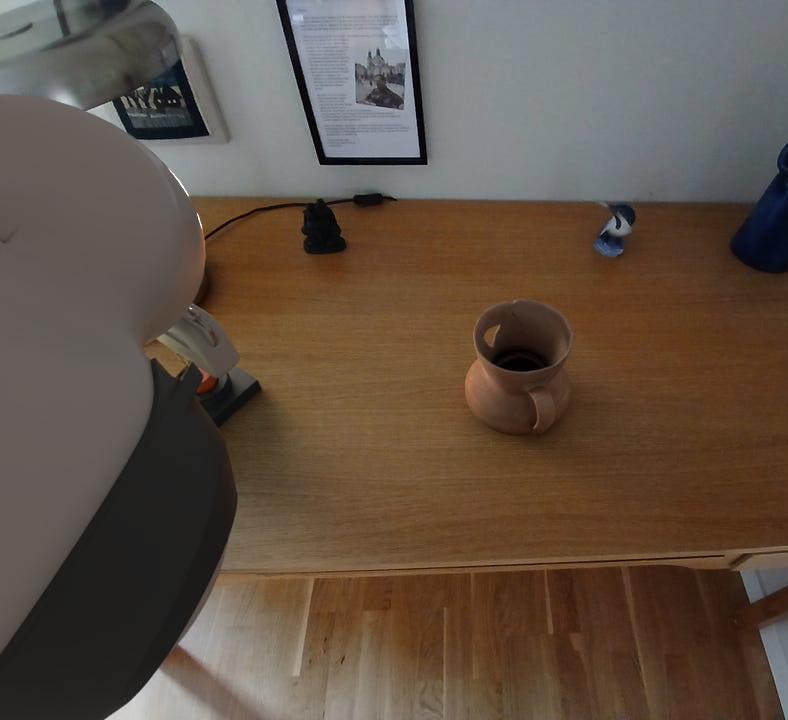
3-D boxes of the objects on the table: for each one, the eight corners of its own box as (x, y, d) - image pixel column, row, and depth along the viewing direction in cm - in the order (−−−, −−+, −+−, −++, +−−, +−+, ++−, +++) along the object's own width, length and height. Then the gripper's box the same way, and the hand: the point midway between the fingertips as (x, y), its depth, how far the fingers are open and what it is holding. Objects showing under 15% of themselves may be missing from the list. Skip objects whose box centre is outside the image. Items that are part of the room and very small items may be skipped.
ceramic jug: (452, 365, 82) (449, 295, 71) (545, 347, 85) (556, 277, 74) (483, 471, 71) (485, 408, 60) (589, 447, 73) (610, 382, 63)
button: (201, 398, 74) (195, 388, 72) (183, 385, 75) (177, 376, 73) (222, 380, 75) (217, 370, 74) (205, 368, 77) (199, 359, 75)
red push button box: (205, 439, 74) (193, 422, 71) (161, 408, 77) (148, 390, 74) (262, 389, 79) (253, 371, 76) (219, 361, 82) (209, 343, 79)
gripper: (229, 302, 59) (267, 381, 70) (113, 233, 66) (163, 315, 77) (179, 338, 56) (226, 415, 66) (62, 262, 63) (122, 343, 73)
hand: (192, 361), depth 72 cm, fingers closed
